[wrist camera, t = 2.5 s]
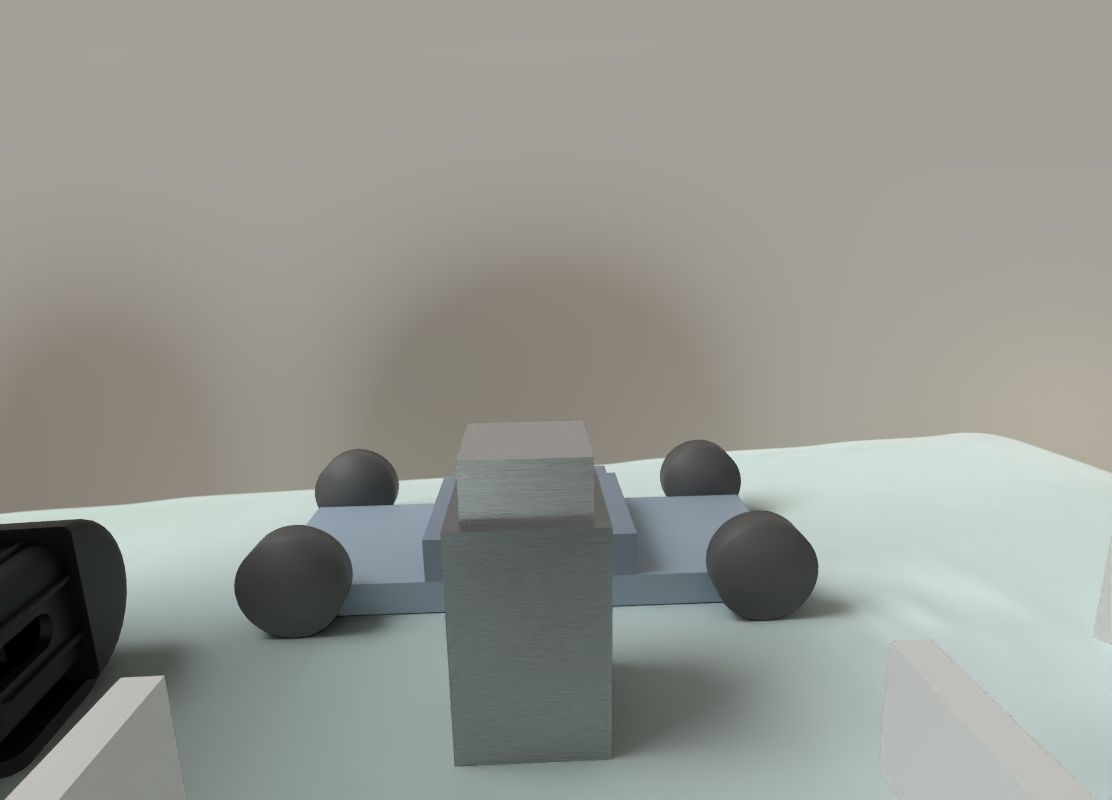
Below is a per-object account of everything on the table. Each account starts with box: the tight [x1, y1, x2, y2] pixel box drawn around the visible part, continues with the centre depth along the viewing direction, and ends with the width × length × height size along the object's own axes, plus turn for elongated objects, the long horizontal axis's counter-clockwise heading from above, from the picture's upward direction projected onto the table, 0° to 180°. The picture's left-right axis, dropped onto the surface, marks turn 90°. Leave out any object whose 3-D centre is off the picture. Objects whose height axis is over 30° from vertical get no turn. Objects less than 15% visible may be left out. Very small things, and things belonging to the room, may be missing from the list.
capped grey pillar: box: [440, 421, 613, 766], centre depth 22 cm, size 5×5×10 cm
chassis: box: [234, 440, 818, 638], centre depth 34 cm, size 24×12×4 cm, turn 92°
